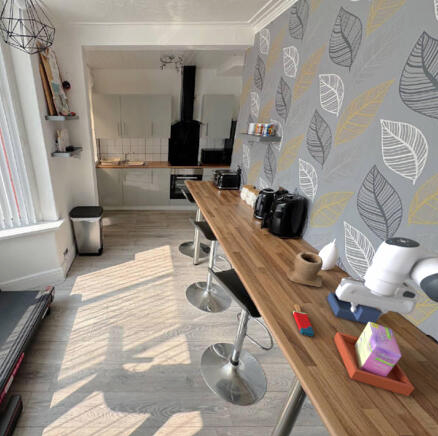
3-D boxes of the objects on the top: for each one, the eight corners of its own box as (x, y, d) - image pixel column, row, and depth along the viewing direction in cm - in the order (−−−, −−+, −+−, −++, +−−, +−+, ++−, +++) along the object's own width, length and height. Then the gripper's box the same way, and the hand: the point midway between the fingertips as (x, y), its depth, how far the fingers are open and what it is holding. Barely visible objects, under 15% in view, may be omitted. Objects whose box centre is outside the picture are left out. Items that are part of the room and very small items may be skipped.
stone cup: (288, 285, 109) (297, 257, 103) (284, 270, 119) (293, 245, 113) (326, 294, 104) (338, 266, 98) (319, 278, 114) (330, 252, 108)
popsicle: (303, 304, 96) (315, 334, 83) (301, 307, 96) (314, 337, 83) (290, 302, 97) (301, 331, 84) (289, 304, 98) (299, 333, 84)
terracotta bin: (381, 351, 79) (385, 344, 77) (408, 396, 66) (414, 388, 65) (333, 338, 83) (337, 331, 81) (350, 378, 70) (355, 370, 69)
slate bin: (356, 305, 99) (359, 298, 97) (368, 324, 89) (372, 317, 88) (327, 298, 102) (329, 292, 100) (335, 316, 93) (339, 309, 91)
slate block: (367, 314, 86) (373, 303, 84) (374, 324, 81) (380, 313, 79) (351, 310, 87) (356, 300, 85) (357, 320, 83) (362, 309, 81)
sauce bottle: (328, 266, 125) (340, 236, 117) (335, 274, 118) (348, 243, 110) (311, 263, 126) (323, 234, 119) (317, 272, 119) (330, 241, 112)
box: (383, 382, 69) (402, 355, 64) (358, 371, 72) (375, 344, 67) (375, 355, 77) (392, 329, 72) (353, 346, 80) (368, 320, 75)
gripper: (347, 281, 78) (333, 312, 84) (426, 296, 72) (405, 329, 78) (340, 270, 84) (327, 300, 89) (413, 284, 78) (394, 315, 83)
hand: (364, 314), depth 83 cm, fingers closed on slate block, 5 cm apart
